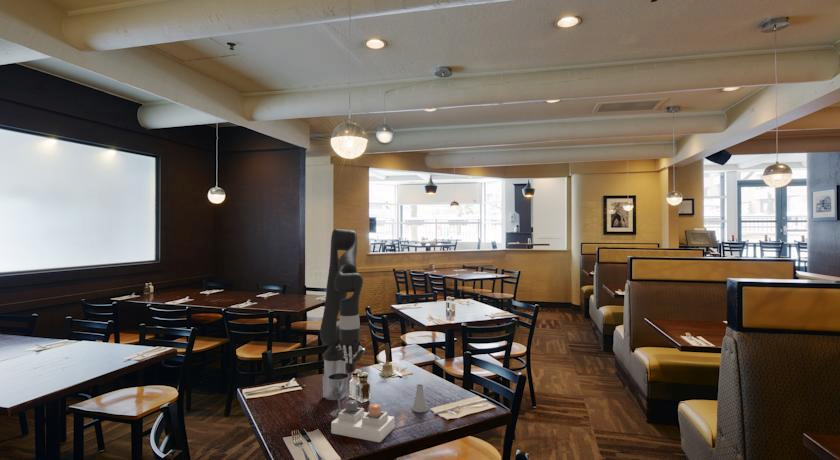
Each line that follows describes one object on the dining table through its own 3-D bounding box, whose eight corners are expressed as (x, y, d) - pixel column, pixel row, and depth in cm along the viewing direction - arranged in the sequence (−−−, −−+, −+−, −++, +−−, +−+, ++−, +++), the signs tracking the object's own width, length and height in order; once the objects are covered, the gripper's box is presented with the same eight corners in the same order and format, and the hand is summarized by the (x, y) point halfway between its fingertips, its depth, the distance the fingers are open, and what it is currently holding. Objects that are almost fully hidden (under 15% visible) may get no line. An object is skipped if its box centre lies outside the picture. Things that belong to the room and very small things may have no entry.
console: (331, 433, 157) (331, 415, 157) (348, 419, 168) (348, 402, 168) (379, 442, 150) (379, 423, 150) (394, 427, 161) (394, 410, 161)
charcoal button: (343, 411, 160) (343, 403, 160) (349, 407, 164) (349, 399, 164) (353, 413, 158) (353, 405, 158) (359, 408, 162) (359, 400, 162)
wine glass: (352, 409, 177) (351, 373, 177) (343, 418, 170) (342, 380, 169) (335, 407, 180) (334, 372, 180) (325, 415, 172) (324, 378, 172)
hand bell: (397, 371, 223) (396, 341, 223) (393, 377, 215) (392, 345, 215) (381, 371, 225) (381, 340, 225) (377, 376, 216) (376, 345, 216)
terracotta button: (366, 415, 156) (366, 407, 156) (372, 410, 160) (372, 402, 160) (377, 417, 154) (377, 409, 154) (383, 412, 158) (382, 404, 158)
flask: (427, 413, 172) (426, 389, 172) (409, 412, 173) (409, 388, 173) (430, 406, 179) (430, 382, 179) (413, 405, 180) (413, 381, 180)
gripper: (328, 327, 160) (329, 373, 160) (359, 329, 155) (361, 377, 155) (340, 323, 167) (340, 367, 167) (370, 325, 162) (371, 371, 162)
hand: (350, 372), depth 161 cm, fingers closed
